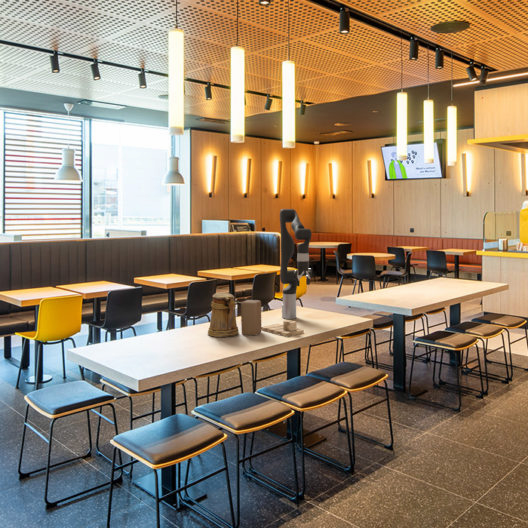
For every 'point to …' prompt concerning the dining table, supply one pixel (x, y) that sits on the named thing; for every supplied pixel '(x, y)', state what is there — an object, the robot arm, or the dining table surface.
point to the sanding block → (290, 325)
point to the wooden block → (251, 317)
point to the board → (280, 330)
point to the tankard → (223, 316)
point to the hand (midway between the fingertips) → (302, 285)
